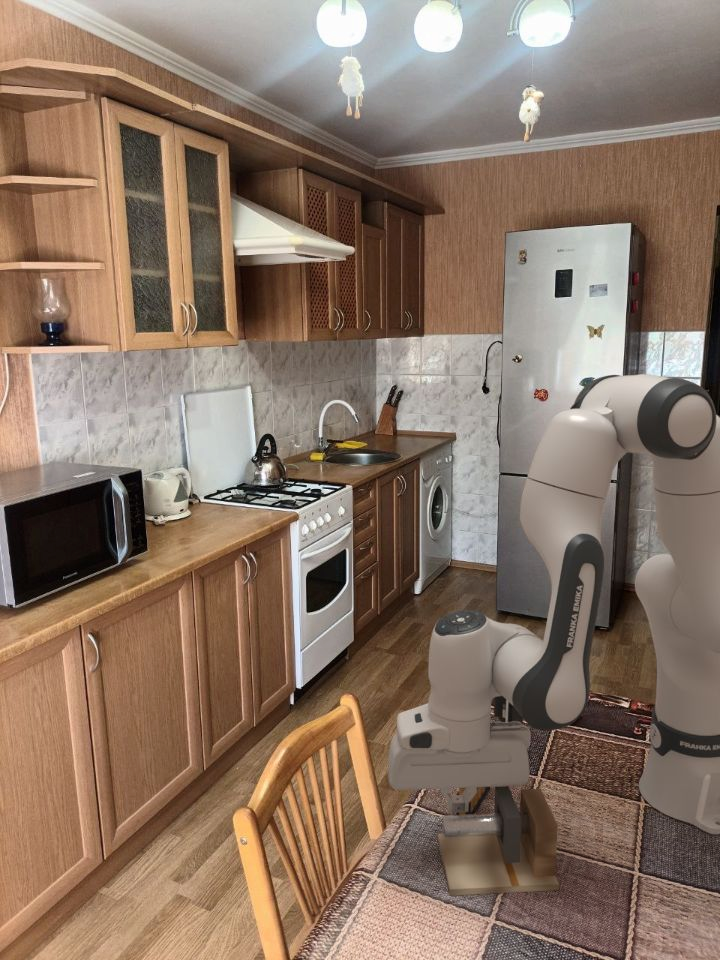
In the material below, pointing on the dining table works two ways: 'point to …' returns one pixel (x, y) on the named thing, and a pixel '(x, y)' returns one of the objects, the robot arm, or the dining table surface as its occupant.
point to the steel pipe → (479, 824)
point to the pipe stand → (483, 865)
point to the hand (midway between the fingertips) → (457, 809)
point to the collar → (508, 824)
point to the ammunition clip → (474, 799)
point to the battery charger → (506, 710)
